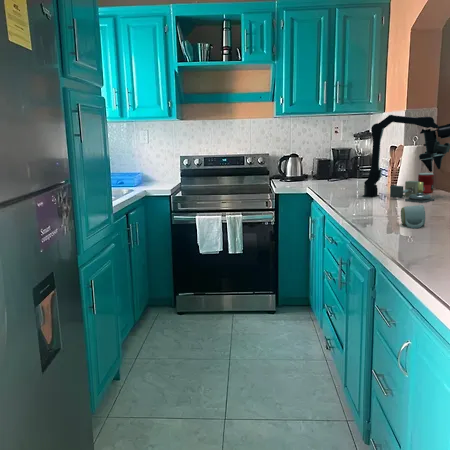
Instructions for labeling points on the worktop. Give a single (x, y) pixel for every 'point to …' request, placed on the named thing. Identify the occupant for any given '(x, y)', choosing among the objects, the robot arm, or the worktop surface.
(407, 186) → the grey-green hollow piece
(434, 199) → the wheel base
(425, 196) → the handwheel
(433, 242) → the worktop surface
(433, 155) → the robot arm
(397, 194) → the block-headed metal hammer
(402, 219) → the ceramic mug
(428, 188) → the canned food
